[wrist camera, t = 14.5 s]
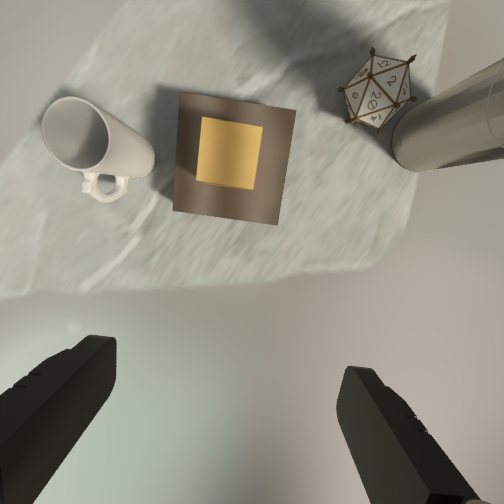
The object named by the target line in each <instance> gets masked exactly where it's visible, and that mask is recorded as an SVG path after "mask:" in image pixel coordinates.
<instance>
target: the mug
mask: <svg viewBox="0 0 504 504" xmlns="http://www.w3.org/2000/svg"><path fill="white" fill-rule="evenodd" d="M41 130H42V137H43V140H44V143H45V146H46V148H47V149H48V151H49V153H50V154H51V155H52V157H53V158H54V159H55V160H56V161H57V162H59V163H60V164H61V165H63V166H65V167H66V168H69V169H71V170H75V171H81V172H82V173H83V176H84V180H83V181H82V183H81V192H83V193H86V194H88V195H89V196H91V197H92V198H94V199H95V200H97V201H100V202H105V203H107V202H112V201H114V200H116V199H118V198H119V197H121V196H122V195H124V194H125V193H127V190H128V180H129V178H141V177H144V176H146V175H148V174H149V173H150V172H151V171H152V169H153V167H154V164H155V152H154V149H153V147H152V145H151V144H150V143H149V141H148V140H147V139H145V138H144V137H143V136H141V135H140V134H138V133H137V132H135V131H134V130H132V129H131V128H129V127H127V126H126V125H124V124H123V123H121V122H120V121H118V120H116V119H115V118H113V117H112V116H110V115H109V114H107V113H106V112H104V111H102V110H101V109H99V108H98V107H96V106H94V105H93V104H91V103H90V102H88V101H86V100H84V99H82V98H79V97H73V96H68V97H63V98H60V99H57V100H56V101H54V102H53V103H52V104H50V105H49V107H48V108H47V109H46V111H45V113H44V115H43V119H42V125H41ZM100 174H108V175H114V177H115V187H114V189H113V190H112V191H111V192H110V193H108V194H103V193H102V192H101V191H100V190H99V188H98V186H97V178H98V176H99V175H100Z"/></svg>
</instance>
